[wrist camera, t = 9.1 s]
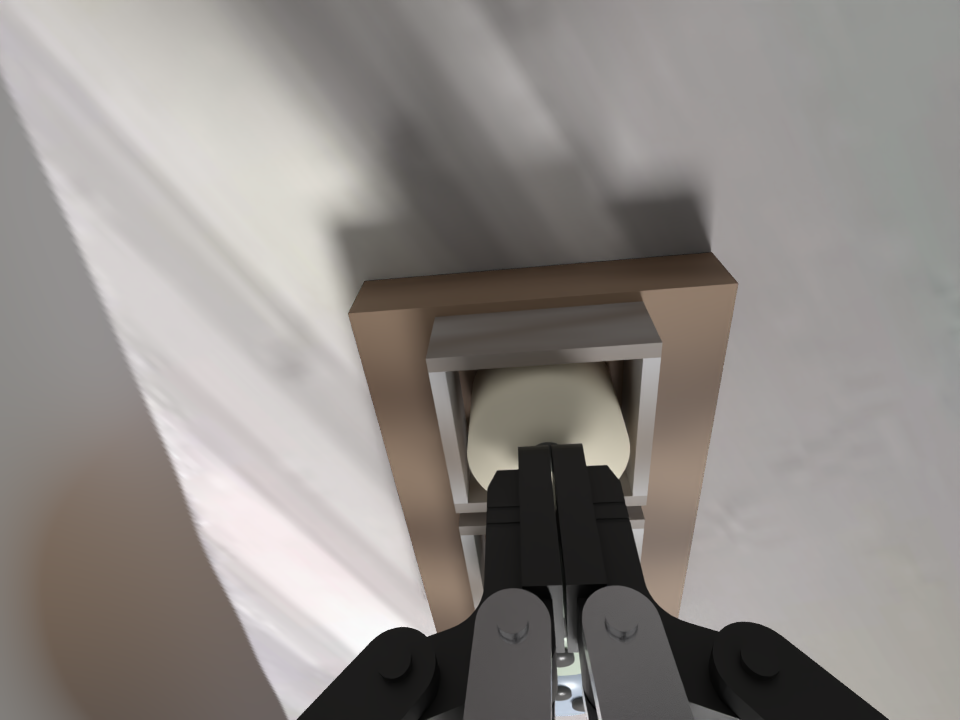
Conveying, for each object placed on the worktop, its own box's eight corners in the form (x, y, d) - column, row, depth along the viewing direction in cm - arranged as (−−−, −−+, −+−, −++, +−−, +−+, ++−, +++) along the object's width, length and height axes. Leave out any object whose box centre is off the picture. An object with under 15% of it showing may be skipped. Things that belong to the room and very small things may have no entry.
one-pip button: (464, 339, 14) (457, 399, 12) (615, 329, 14) (635, 388, 12) (479, 448, 16) (475, 516, 14) (610, 442, 16) (627, 510, 14)
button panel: (364, 281, 16) (326, 354, 12) (712, 252, 15) (772, 323, 11) (448, 618, 26) (440, 709, 22) (659, 613, 25) (684, 708, 21)
